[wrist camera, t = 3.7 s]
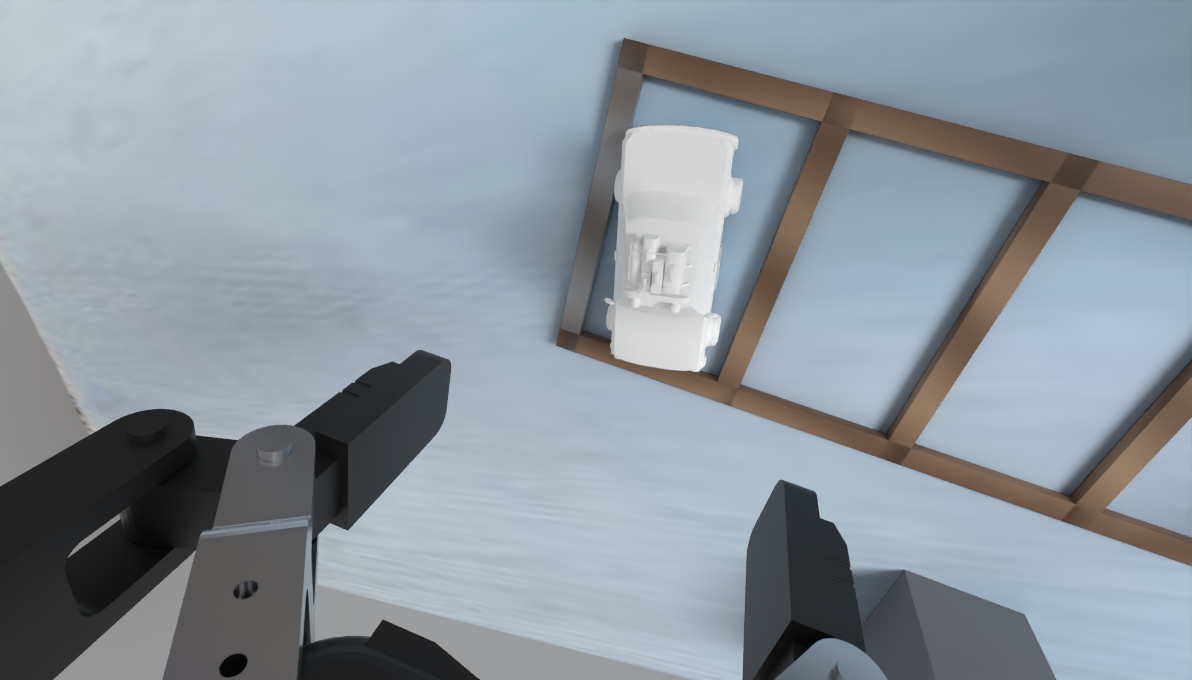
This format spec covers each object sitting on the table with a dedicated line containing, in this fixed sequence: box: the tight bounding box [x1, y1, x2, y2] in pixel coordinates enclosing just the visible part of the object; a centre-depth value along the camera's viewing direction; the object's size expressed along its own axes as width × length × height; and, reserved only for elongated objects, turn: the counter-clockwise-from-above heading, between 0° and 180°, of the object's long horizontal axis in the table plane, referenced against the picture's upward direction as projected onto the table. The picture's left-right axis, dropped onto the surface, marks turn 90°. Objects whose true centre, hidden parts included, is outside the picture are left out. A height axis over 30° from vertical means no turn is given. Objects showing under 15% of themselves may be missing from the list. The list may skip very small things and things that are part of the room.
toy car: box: [604, 125, 743, 372], centre depth 26 cm, size 6×12×7 cm, turn 178°
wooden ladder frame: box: [556, 38, 1192, 566], centre depth 26 cm, size 16×39×1 cm, turn 77°
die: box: [861, 570, 1056, 680], centre depth 31 cm, size 7×7×7 cm
